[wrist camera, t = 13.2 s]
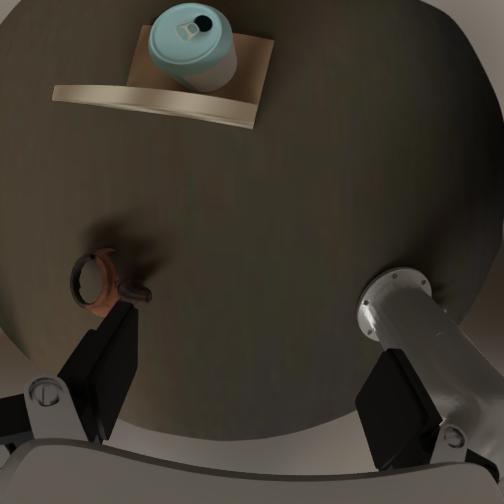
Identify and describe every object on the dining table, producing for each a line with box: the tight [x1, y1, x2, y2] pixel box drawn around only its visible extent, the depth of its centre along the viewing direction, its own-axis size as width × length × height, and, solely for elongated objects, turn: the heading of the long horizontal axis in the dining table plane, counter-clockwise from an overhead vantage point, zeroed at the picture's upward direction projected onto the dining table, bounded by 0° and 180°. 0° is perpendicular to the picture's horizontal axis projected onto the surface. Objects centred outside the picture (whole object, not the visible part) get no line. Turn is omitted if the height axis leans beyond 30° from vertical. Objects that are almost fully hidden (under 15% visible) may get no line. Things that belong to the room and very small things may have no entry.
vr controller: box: [70, 248, 152, 317], centre depth 38 cm, size 12×10×8 cm
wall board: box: [52, 25, 274, 129], centre depth 24 cm, size 16×11×16 cm
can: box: [148, 3, 237, 92], centre depth 24 cm, size 7×7×12 cm
